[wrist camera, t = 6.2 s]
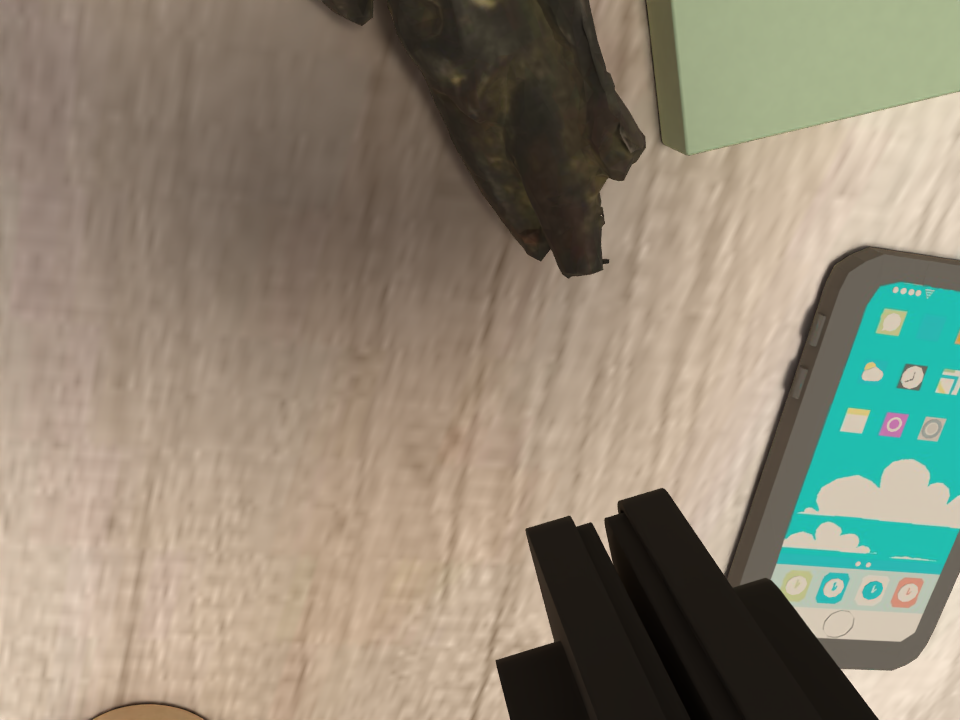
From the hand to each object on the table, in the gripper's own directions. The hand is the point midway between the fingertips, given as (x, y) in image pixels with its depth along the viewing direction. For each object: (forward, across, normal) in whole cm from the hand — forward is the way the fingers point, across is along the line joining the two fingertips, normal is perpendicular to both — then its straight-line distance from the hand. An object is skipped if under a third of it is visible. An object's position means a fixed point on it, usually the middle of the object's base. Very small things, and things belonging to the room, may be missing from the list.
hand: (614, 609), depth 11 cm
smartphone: (+16, -12, +12) cm, 23 cm away
